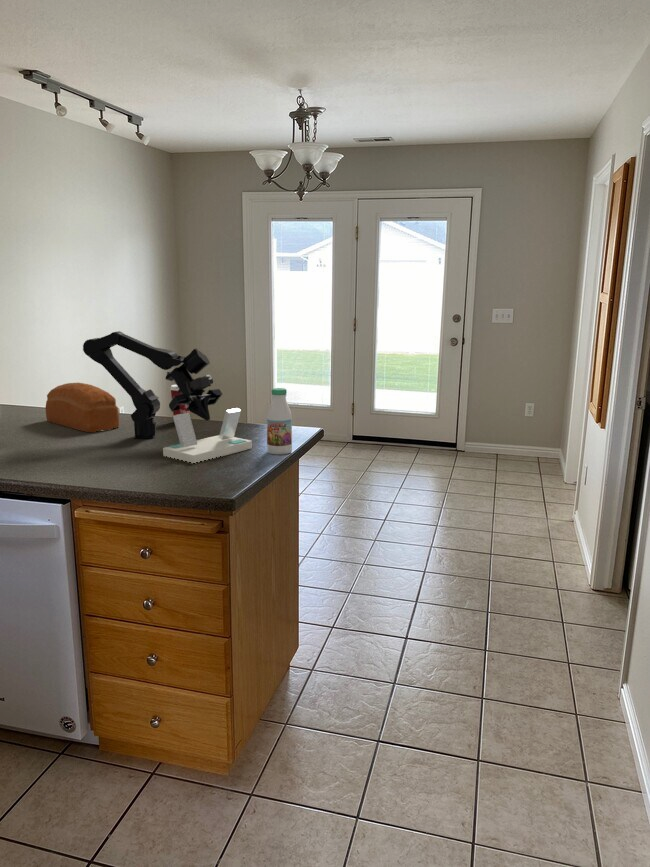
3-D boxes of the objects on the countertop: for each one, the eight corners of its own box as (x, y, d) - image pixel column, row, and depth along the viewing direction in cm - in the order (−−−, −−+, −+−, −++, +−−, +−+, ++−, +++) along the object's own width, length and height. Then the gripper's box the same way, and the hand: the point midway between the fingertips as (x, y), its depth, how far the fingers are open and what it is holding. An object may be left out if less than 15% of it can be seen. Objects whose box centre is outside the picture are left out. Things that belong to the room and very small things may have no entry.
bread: (88, 434, 227) (85, 390, 224) (43, 421, 248) (39, 380, 245) (123, 428, 238) (120, 385, 234) (77, 416, 258) (74, 377, 255)
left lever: (181, 448, 196) (172, 416, 196) (194, 445, 200) (185, 413, 200) (184, 447, 195) (175, 414, 195) (197, 444, 199) (189, 412, 199)
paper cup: (187, 424, 244) (185, 387, 240) (168, 423, 245) (166, 386, 242) (195, 420, 251) (194, 384, 248) (176, 419, 252) (175, 383, 249)
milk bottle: (267, 449, 208) (266, 387, 203) (291, 448, 208) (291, 386, 204) (267, 455, 200) (266, 390, 196) (292, 455, 201) (292, 390, 196)
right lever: (218, 437, 207) (226, 410, 203) (230, 434, 211) (237, 408, 207) (222, 440, 207) (229, 412, 202) (233, 437, 210) (241, 410, 206)
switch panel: (163, 455, 199) (162, 446, 198) (222, 441, 217) (221, 433, 217) (193, 463, 190) (193, 454, 190) (252, 448, 209) (251, 439, 208)
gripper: (173, 369, 205) (197, 408, 201) (217, 364, 219) (241, 401, 215) (158, 391, 212) (181, 430, 207) (203, 385, 226) (225, 421, 221)
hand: (208, 419), depth 213 cm, fingers closed
